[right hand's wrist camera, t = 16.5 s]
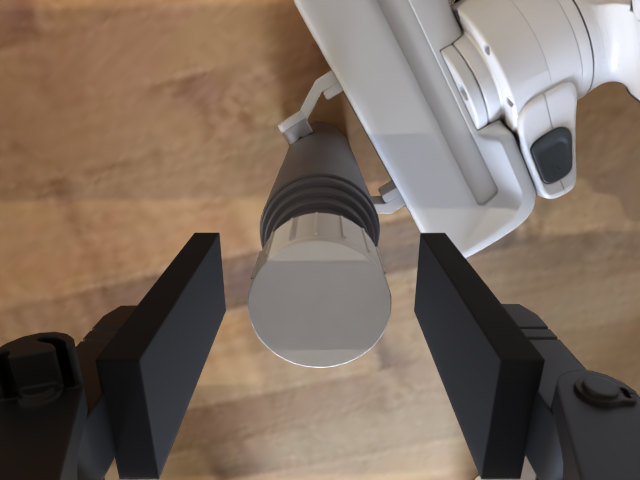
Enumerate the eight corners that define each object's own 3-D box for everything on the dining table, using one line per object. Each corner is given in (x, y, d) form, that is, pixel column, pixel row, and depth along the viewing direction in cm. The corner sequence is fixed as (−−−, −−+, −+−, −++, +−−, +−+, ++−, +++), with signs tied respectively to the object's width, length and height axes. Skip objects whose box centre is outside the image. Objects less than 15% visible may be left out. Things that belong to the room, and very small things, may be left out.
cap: (339, 342, 15) (342, 389, 13) (237, 288, 15) (221, 329, 12) (405, 250, 14) (421, 285, 12) (297, 188, 13) (292, 211, 11)
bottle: (278, 142, 35) (200, 270, 12) (330, 110, 35) (353, 184, 11) (309, 192, 37) (291, 394, 14) (360, 163, 36) (433, 325, 13)
